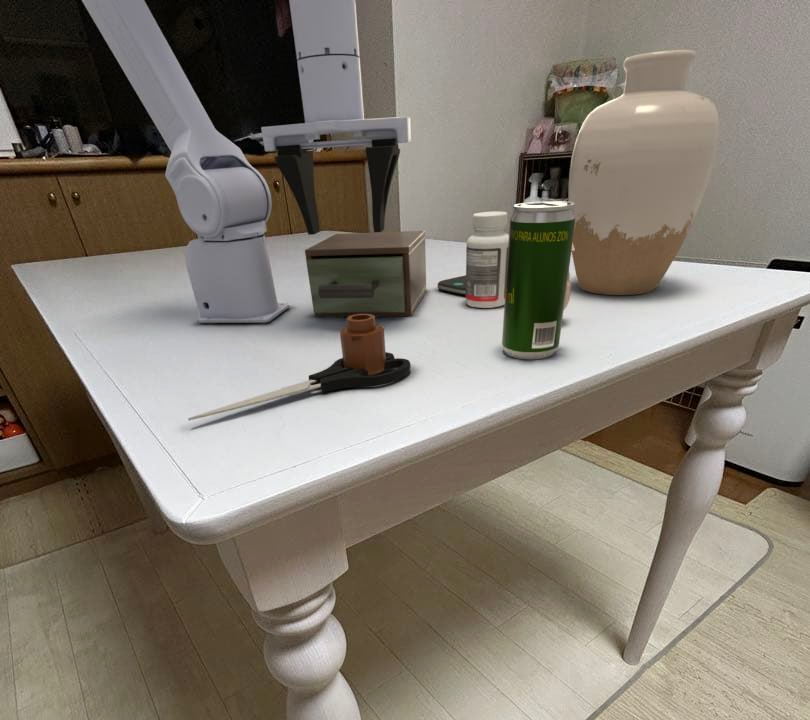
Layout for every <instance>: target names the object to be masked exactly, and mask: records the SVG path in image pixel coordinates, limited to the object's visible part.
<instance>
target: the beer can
mask: <svg viewBox="0 0 810 720" xmlns="http://www.w3.org/2000/svg"><path fill="white" fill-rule="evenodd" d="M574 205H575V203H573V202H569V201H562V200H559V201H557V200H555V201H552V200H551V201H550V200H549V201H534V202H533V201H532V202H530V201H529V202H522V203H516V204H514V205H513V210H514V211H513V213H512V215H511V216H510V219H509V231H508V235H509V244H508V259H507V274H506V289H505V304H504V305H503V322H502V323H503V324H502V337H501V338H502V339H501V345H502V347H503V350H504V353H505V354H506V355H507V356H509V357H511V358H514V359H520V360H540V359H541V360H542V359H547V358H550V357H552V356H553V355H554V354H555V353H556V351H557V349H558V347H559V345H560V339H561V333H562V332H561V331H562V326H563V325H562V324H563V317H564V311H565V309H564V303H565V295H566V288H567V280H568V273H570V265H571V256H572V252H571V250H572V242H573V235H574V227H575V220H576V217H575V213H574V210H573V208H574ZM563 310H564V311H563Z"/></svg>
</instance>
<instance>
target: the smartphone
mask: <svg viewBox="0 0 810 720" xmlns="http://www.w3.org/2000/svg"><path fill="white" fill-rule="evenodd" d="M437 289H438V290H439V291H443V292H447V293H450V294H451V293H452V294H455V295H460V296H466V274H465V275H461V276H457V277H452V278H447V279H443V280H439V281H438V283H437Z"/></svg>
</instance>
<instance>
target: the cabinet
mask: <svg viewBox="0 0 810 720" xmlns="http://www.w3.org/2000/svg"><path fill="white" fill-rule="evenodd" d="M382 254H403V263H404V285H405V311H404V312H368V313H314V312H313V317H314V318H316V317H318V318H319V317H322V318H323V317H325V318H326V317H327V318H328V317H330V318H332V317H348V316H351V315H355V314H372V315H374V316H375V317H412V316H413V314H414V312H415V311H416V309H417V307H418V306H419V304H420V302H421V301H422V298H423V297H424V296H425V294H426V292H427V260H426V259H427V258H426V257H427V256H426V231H425V230H408V231H382V232H357V233H356V232H355V233H354V232H352V233H351V232H350V233H349V232H348V233H335V234H333V235H332V236H330V237H329V236H328V237H327V238H325V239H324V240H321V241H320V242H318V243H316V244H314V245H311V246H310V247H308V248H306V249H304V255H305V261H307V260H309V259H318V258H319V257H321V256H347V255H382Z"/></svg>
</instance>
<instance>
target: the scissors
mask: <svg viewBox="0 0 810 720" xmlns="http://www.w3.org/2000/svg"><path fill="white" fill-rule="evenodd" d="M385 352H386V361H385V363H384V371H382V372H380V373H377V374H373V375H368V371H366V370H364V369H354V368H353V367H347V368H345V366H344V363H343V357H341V358H339V359H337V360H335V361H334V362H333V363H332V364H331V365H330V366H329V367H327V368H325V369H323V370H321V371H318V372H315V373H313V374H309V375H308V380H305V381H302V382H298V383H294V384H290V385H288V386H285V387H281V388H280V389H276V390H273V391H270V392H266V393H263V394H260V395H257V396H253V397H251V398H246V399H244V400H240V401H238V402H237V401H236V402H234V403H230V404H228V405H225V406H221V407H218V408H215V409H212V410H209V411H206V412H202V413H200V414H196V415H193V416H191V417H188V418H187V420H188V421H193V420H197V419H202V418H205V417H209V416H215V415H218V414H222V413H226V412H230V411H234V410H238V409H242V408H246V407H251V406H254V405H257V404H262V403H266V402H269V401H272V400H277V399H280V398H285V397H288V396H289V397H290V396H294V395H298V394H301V393H305V392H308V391H312V390H316V389H321V392H322V393H327V392H331V391H334V390H339V389H346V388H347V389H348V388H363V387H364V388H365V387H378V386H383V385H387V384H391V383H393V382H396V381H399V380H400V379H402V378H405V377H406V376H407V375H409V373H410V371H411V366H412V364H411V361H410V360H409V359H406V358H400V357H399V358H398V357H397V358H395V355H394V353H391V352H388V351H385Z"/></svg>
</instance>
